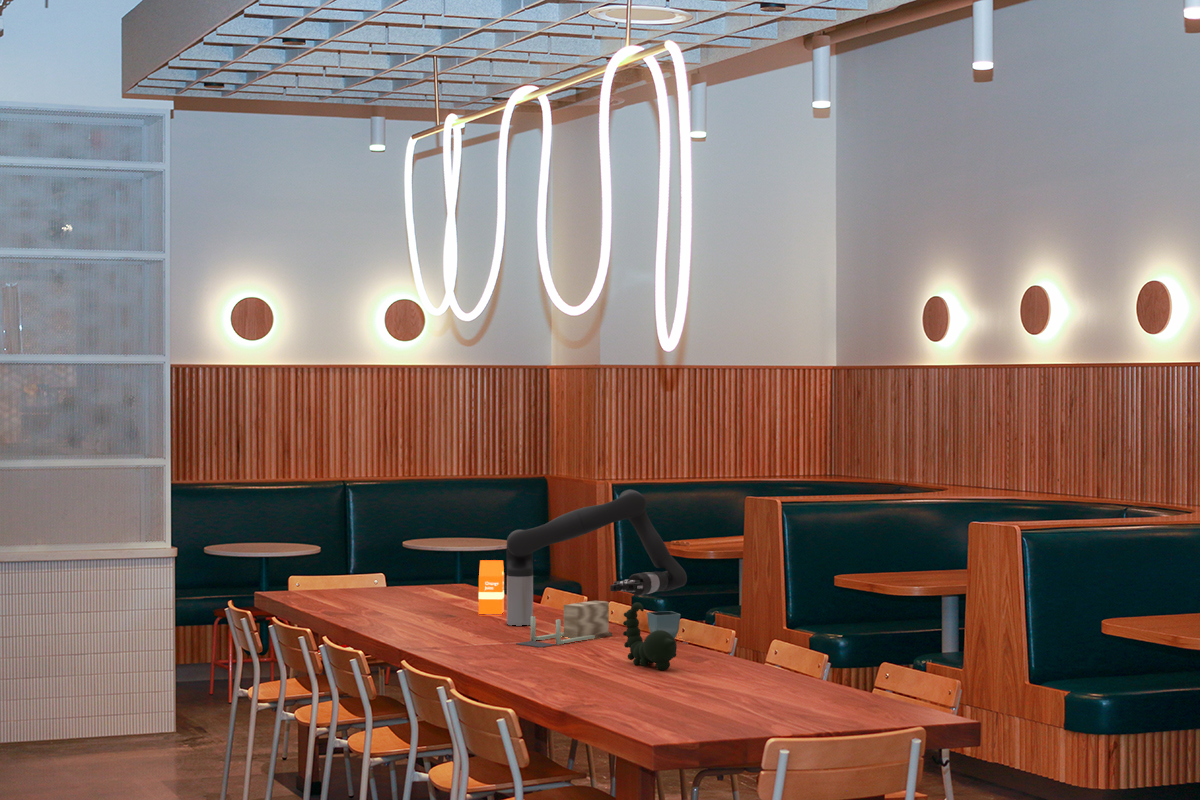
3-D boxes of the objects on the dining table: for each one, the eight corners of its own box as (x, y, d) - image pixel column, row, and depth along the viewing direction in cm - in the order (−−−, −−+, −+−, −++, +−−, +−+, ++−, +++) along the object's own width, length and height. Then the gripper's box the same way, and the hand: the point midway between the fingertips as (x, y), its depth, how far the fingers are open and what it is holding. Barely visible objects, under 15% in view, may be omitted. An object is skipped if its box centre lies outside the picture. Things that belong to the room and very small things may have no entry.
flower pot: (646, 639, 449) (646, 611, 449) (671, 638, 452) (671, 610, 452) (655, 643, 441) (655, 615, 441) (681, 642, 443) (681, 614, 444)
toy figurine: (616, 667, 404) (661, 673, 382) (614, 603, 406) (658, 604, 384) (644, 665, 409) (689, 670, 387) (641, 601, 411) (686, 602, 389)
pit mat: (530, 641, 443) (530, 640, 443) (556, 645, 436) (556, 644, 436) (515, 644, 437) (515, 643, 437) (541, 647, 430) (541, 646, 430)
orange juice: (502, 615, 506) (502, 561, 507) (478, 615, 507) (478, 561, 507) (504, 612, 514) (504, 559, 515) (480, 612, 514) (480, 559, 515)
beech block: (595, 633, 463) (595, 600, 463) (608, 634, 459) (608, 601, 460) (563, 638, 451) (563, 604, 451) (577, 640, 447) (577, 606, 447)
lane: (583, 632, 464) (583, 628, 464) (612, 636, 456) (612, 632, 456) (566, 635, 457) (566, 631, 457) (594, 639, 449) (594, 635, 449)
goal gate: (566, 635, 457) (566, 611, 457) (594, 639, 449) (594, 614, 449) (529, 641, 443) (529, 616, 444) (558, 645, 435) (558, 620, 435)
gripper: (629, 571, 483) (597, 576, 470) (658, 573, 474) (626, 578, 461) (629, 593, 483) (597, 598, 470) (658, 595, 474) (627, 600, 461)
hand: (612, 588), depth 465 cm, fingers closed
